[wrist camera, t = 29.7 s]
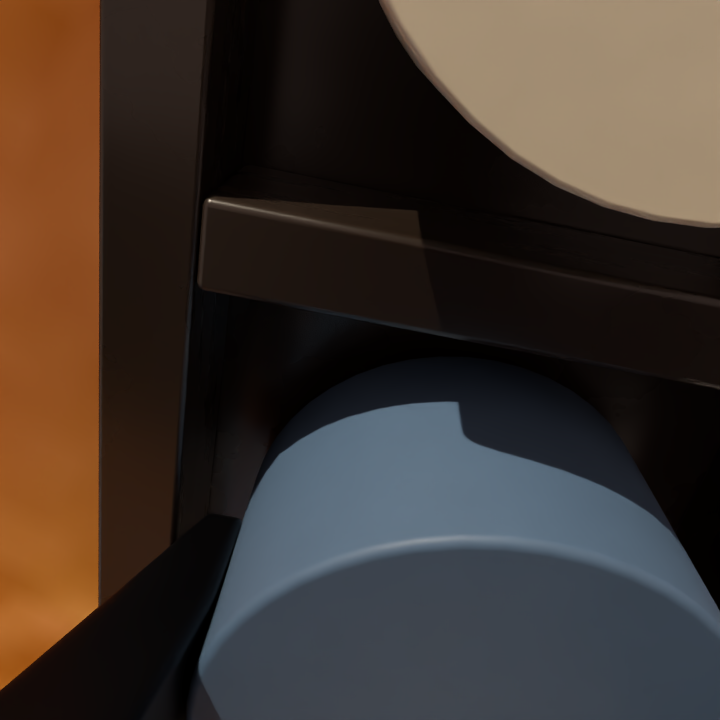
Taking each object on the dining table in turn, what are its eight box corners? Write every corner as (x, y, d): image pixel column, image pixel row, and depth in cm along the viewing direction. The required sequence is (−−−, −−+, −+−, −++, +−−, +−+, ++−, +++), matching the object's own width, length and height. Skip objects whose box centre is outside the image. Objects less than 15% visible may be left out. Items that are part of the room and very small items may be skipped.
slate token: (706, 397, 8) (892, 609, 5) (564, 680, 10) (632, 938, 7) (278, 316, 7) (203, 484, 5) (235, 624, 10) (169, 863, 7)
